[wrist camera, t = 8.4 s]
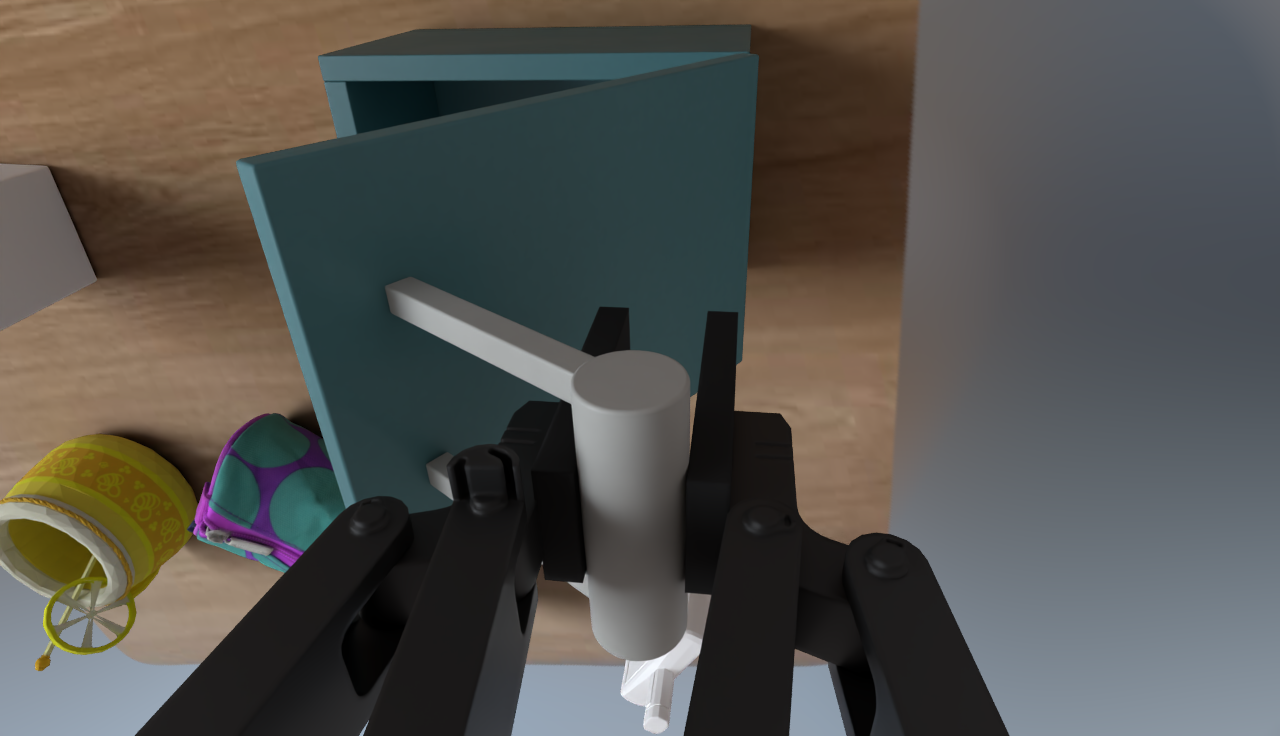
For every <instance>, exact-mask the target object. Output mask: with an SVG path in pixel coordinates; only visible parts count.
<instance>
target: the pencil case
mask: <svg viewBox="0 0 1280 736" xmlns="http://www.w3.org/2000/svg"><path fill="white" fill-rule="evenodd" d="M345 509H346V508H345V504H344V501H343V498H342V495H341V492H340V489H339V486H338V482H337V479H336V476H335V473H334V470H333V467H332V464H331V460H330V457H329V454H328V451H327V448H326V445H325V442H324V439H322V438H320V437H319V436H317V435H315V434H314V433H312V432H310V431H309V430H307V429H305V428H303V427H301V426H299V425H296V424H294V423H292V422H290V421H289V420H288V419H287V418H285V417H284V416H282V415H281V414H277V413H273V414H263V415H260V416H257V417H255V418H254V419H252V420H250V421H249V422H247V423H246V424H245V425H243V426H242V427H241V428H240V429H238V430H237V431H236V432H235V433H234V434H233V435H232V436H231V438H230V439H229V441H228V442H227V444H226V445H225V447H224V448H223V450H222V452H221V454H220V457H219V459H218V462H217V464H216V467H215V471H214V474H213V477H212V481H211V484H210V482H205V486H204V489H203V492H202V495H201V499H200V501H199V504H198V507H197V510H196V515H195V519H194V520H193V521H192V523H191V524H190V526H189V527H188V528H187V530H188V531H189V532H192V533H194V535H196V536H197V539H198V540H200V541H202V542H205V543H207V544H211V545H214V546H218V547H220V548H223V549H225V550H227V551H229V552H232V553H235V554H237V555H239V556H242V557H245V558H248V559H251V560H256V561H260V563H262V564H264V565H265V566H268V567H270V568H273V569H276V570H278V571H281V572H284V573H285V572H286V571H287V570H288V569H289V568H290V567H291V566H292V565H293V564H294V563H295V562H296V560H297V559H298V558H299V557H300V556H301V555H302V554H303V553H304V552H305V551H306V550H307V549H308V547H309V546H310V545H311V544H312V543H313V542H314V541H315V540H316V539H317V538H318V537H319V536H320V535H321V533H322V532H323V531H324V530H325V529H326V528H327V527H328V526H329V525H330V524H331V523H332V522H333V520H334V519H335V518H336V517H337V516H338V515H339V514H340V513H341V512H343V511H344V510H345Z"/></svg>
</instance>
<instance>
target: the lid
mask: <svg viewBox="0 0 1280 736" xmlns="http://www.w3.org/2000/svg"><path fill="white" fill-rule="evenodd" d="M758 64H759V56H758V55H757V54H747V53H738V54H734V55H729V56H724V57H719V58H715V59H710V60H705V61H701V62H696V63H691V64H686V65H682V66H677V67H672V68H667V69H663V70H658V71H653V72H649V73H644V74H639V75H634V76H630V77H625V78H620V79H615V80H611V81H606V82H601V83H597V84H592V85H587V86H582V87H578V88H573V89H568V90H564V91H559V92H554V93H549V94H545V95H540V96H535V97H530V98H526V99H521V100H516V101H512V102H507V103H502V104H497V105H493V106H488V107H483V108H478V109H474V110H469V111H464V112H460V113H455V114H450V115H445V116H441V117H436V118H431V119H427V120H422V121H417V122H412V123H408V124H403V125H398V126H393V127H389V128H384V129H379V130H375V131H370V132H365V133H360V134H356V135H351V136H346V137H342V138H337V139H332V140H327V141H323V142H318V143H313V144H308V145H304V146H299V147H294V148H290V149H285V150H280V151H275V152H271V153H266V154H261V155H256V156H252V157H247V158H242V159H239V160H238V161H236V165H237V169H238V172H239V175H240V178H241V181H242V184H243V187H244V191H245V194H246V197H247V200H248V203H249V206H250V209H251V213H252V216H253V219H254V222H255V225H256V228H257V231H258V235H259V238H260V241H261V244H262V247H263V250H264V253H265V256H266V260H267V263H268V266H269V269H270V272H271V275H272V278H273V282H274V285H275V288H276V291H277V294H278V297H279V300H280V304H281V307H282V310H283V313H284V316H285V319H286V322H287V326H288V329H289V332H290V335H291V338H292V341H293V344H294V347H295V351H296V354H297V357H298V360H299V363H300V366H301V369H302V373H303V376H304V379H305V382H306V385H307V388H308V391H309V395H310V398H311V401H312V404H313V407H314V410H315V413H316V417H317V420H318V423H319V426H320V429H321V432H322V435H323V438H324V442H325V445H326V448H327V451H328V454H329V457H330V460H331V464H332V467H333V470H334V473H335V476H336V479H337V482H338V486H339V489H340V492H341V495H342V498H343V501H344V504H345V508H348V507H349V506H350V505H352V504H354V503H356V502H359V501H361V500H363V499H367V498H371V497H376V496H390V497H394V498H396V499H399V500H402V501H403V503H404V504H405V505H406V506H407V507H408V510H409V514H412V513H418V512H424V511H431V510H437V509H441V508H445V507H448V506H451V505H452V503H453V496H452V491H451V487H450V482H449V477H448V472H447V467H446V466H447V464H448V463H449V461H450V460H451V459H452V457H454V456H455V455H457V454H458V453H460V452H461V451H462V450H465V449H467V448H470V447H473V446H476V445H483V444H497V445H498V444H499V442H501V438H502V436H503V434H504V432H505V430H507V426H508V424H509V422H510V420H511V418H512V416H513V414H514V413H515V412H516V411H517V410H518V409H520V408H521V407H522V406H523V405H524V404H526V403H527V402H528V401H546V402H560V400H561V399H562V400H564V401H566V402H568V403H570V404H571V405H572V415H573V426H574V437H575V448H576V459H577V470H578V481H579V492H580V502H581V513H582V524H583V535H584V546H585V557H586V568H587V570H586V573H585V577H584V581H583V583H574V582H567V583H569V584H570V585H572V586H573V587H574V588H576V589H577V590H579V591H580V592H581V593H583V594H584V595H586V596H587V597H588V598H589V600H590V611H591V622H592V629H593V633H594V635H595V638H596V639H597V641H598V642H599V643H600V645H601V646H602V647H603V648H604V649H605V650H606V651H608V652H609V653H611V654H612V655H614V656H616V657H618V658H621V659H624V660H629V661H648V660H653V659H656V658H659V657H661V656H663V655H665V654H667V653H668V652H670V651H671V650H673V649H674V648H675V647H676V646H677V645H678V643H679V642H680V641H681V639H682V638H683V636H684V634H685V631H686V628H687V619H688V593H685V542H686V481H687V473H688V465H689V452H690V397H691V396H693V395H694V394H696V393H697V392H698V385H699V377H700V369H701V361H702V353H703V345H704V337H705V329H706V321H707V313H708V311H723V312H738V333H737V356H736V365H737V364H738V363H740V362H741V361H742V353H743V335H744V317H745V298H746V280H747V262H748V244H749V226H750V208H751V190H752V172H753V154H754V136H755V118H756V100H757V82H758ZM599 307H624V308H629V323H630V350H625V351H617V352H611V353H607V354H603V355H600V356H597V357H593V356H591V355H589V354H586V353H584V352H582V351H581V350H582V347H583V345H584V342H585V340H586V338H587V335H588V333H589V330H590V328H591V326H592V323H593V321H594V319H595V316H596V314H597V311H598V309H599ZM542 565H543V562H542Z"/></svg>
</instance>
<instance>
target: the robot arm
mask: <svg viewBox="0 0 1280 736" xmlns="http://www.w3.org/2000/svg"><path fill="white" fill-rule="evenodd" d="M737 333H738V312H723V311H708V313H707V321H706V329H705V337H704V345H703V353H702V361H701V369H700V377H699V385H698V393H697V401H696V409H695V417H694V425H693V433H692V441H691V449H690V457H689V465H688V473H687V481H686V542H685V593H695V594H706V595H711V599H710V604H709V609H708V614H707V619H706V625H705V630H704V635H703V640H702V645H701V650H700V655H699V660H698V665H697V670H696V675H695V681H694V686H693V691H692V696H691V701H690V706H689V711H688V716H687V721H686V726H685V731H684V736H789V728H790V713H791V698H792V682H793V667H794V652H795V649H797V650H800V651H802V652H805V653H807V654H810V655H812V656H815V657H817V658H820V659H822V660H825V661H827V662H828V667H829V670H830V674H831V678H832V682H833V685H834V689H835V693H836V697H837V701H838V705H839V709H840V712H841V716H842V720H843V723H844V728H845V731H846V735H847V736H1009V734H1008V732H1007V729H1006V727H1005V725H1004V723H1003V721H1002V719H1001V717H1000V714H999V712H998V710H997V708H996V706H995V704H994V702H993V699H992V697H991V695H990V693H989V691H988V689H987V687H986V684H985V682H984V680H983V678H982V676H981V674H980V672H979V669H978V667H977V665H976V663H975V661H974V659H973V657H972V654H971V652H970V650H969V648H968V646H967V644H966V642H965V639H964V637H963V635H962V633H961V631H960V629H959V627H958V625H957V622H956V620H955V618H954V616H953V614H952V612H951V609H950V607H949V605H948V603H947V601H946V599H945V597H944V595H943V592H942V590H941V588H940V586H939V584H938V582H937V580H936V577H935V575H934V573H933V571H932V569H931V567H930V565H929V563H928V560H927V559H926V558H925V556H924V555H923V554H922V552H921V551H920V550H919V549H918V548H917V547H915V546H914V545H912V544H911V543H910V542H908V541H907V540H904V539H902V538H899V537H897V536H894V535H891V534H883V533H871V534H865V535H861V536H859V537H858V538H856V539H854V540H853V541H851V543H850V544H849V545H846V544H843V543H840V542H837V541H834V540H831V539H829V538H826V537H824V536H822V535H820V534H818V533H817V532H815V531H813V530H812V529H811V528H810V527H809V526H808V525H806V524H805V523H804V521H803V520H802V518H801V517H800V515H799V512H798V509H797V501H796V487H795V474H794V461H793V448H792V434H791V428H790V426H789V425H788V423H787V422H786V421H785V419H784V418H783V417H782V415H781V414H778V413H761V412H744V411H734V403H735V380H736V356H737ZM625 350H630V323H629V308H624V307H599V309H598V311H597V314H596V316H595V319H594V321H593V323H592V326H591V328H590V330H589V333H588V335H587V338H586V340H585V342H584V345H583V347H582V350H581V351H582V352H584V353H586V354H589V355H591V356H593V357H597V356H600V355H603V354H607V353H611V352H617V351H625ZM446 467H447V472H448V477H449V482H450V487H451V491H452V496H453V503H452V505H451V506H448V507H445V508H441V509H437V510H431V511H424V512H418V513H412V514H409V510H408V507H407V506H406V505H405V504H404V503H403V501H402V500H399V499H396V498H394V497H390V496H376V497H371V498H367V499H363V500H361V501H359V502H356V503H354V504H352V505H350V506H349V507H348V508H346V509H345V510H344V511H343V512H341V513H340V514H339V515H338V516H337V517H336V518H335V519H334V520H333V522H332V523H331V524H330V525H329V526H328V527H327V528H326V529H325V530H324V531H323V532H322V533H321V535H320V536H319V537H318V538H317V539H316V540H315V541H314V542H313V543H312V544H311V545H310V546H309V547H308V549H307V550H306V551H305V552H304V553H303V554H302V555H301V556H300V557H299V558H298V559H297V560H296V562H295V563H294V564H293V565H292V566H291V567H290V568H289V569H288V570H287V571H286V572H285V573H284V575H283V576H282V577H281V578H280V579H279V580H278V581H277V582H276V583H275V584H274V585H273V586H272V588H271V589H270V590H269V591H268V592H267V593H266V594H265V595H264V596H263V597H262V598H261V599H260V601H259V602H258V603H257V604H256V605H255V606H254V607H253V608H252V609H251V610H250V611H249V612H248V614H247V615H246V616H245V617H244V618H243V619H242V620H241V621H240V622H239V623H238V624H237V625H236V626H235V628H234V629H233V630H232V631H231V632H230V633H229V634H228V635H227V636H226V637H225V638H224V639H223V641H222V642H221V643H220V644H219V645H218V646H217V647H216V648H215V649H214V650H213V651H212V652H211V654H210V655H209V656H208V657H207V658H206V659H205V660H204V661H203V662H202V663H201V664H200V665H199V667H198V668H197V669H196V670H195V671H194V672H193V673H192V674H191V675H190V676H189V677H188V678H187V680H186V681H185V682H184V683H183V684H182V685H181V686H180V687H179V688H178V689H177V690H176V691H175V692H174V694H173V695H172V696H171V697H170V698H169V699H168V700H167V701H166V702H165V703H164V705H162V707H161V708H160V709H159V710H158V711H157V712H156V713H155V714H154V715H153V716H152V717H151V718H150V720H149V721H148V722H147V723H146V724H145V725H144V726H143V727H142V728H141V729H140V730H139V731H138V733H137V734H136V735H135V736H359V735H360V733H361V731H362V730H363V728H364V727H365V725H366V724H367V722H368V721H369V722H368V725H367V727H366V730H365V732H364V735H363V736H511V733H512V728H513V723H514V718H515V713H516V708H517V703H518V698H519V693H520V688H521V683H522V678H523V673H524V668H525V663H526V658H527V653H528V648H529V643H530V638H531V633H532V628H533V623H534V617H535V612H536V607H537V602H538V590H537V583H536V579H537V576H538V573H539V570H540V567H541V564H542V562H543V569H544V577H545V580H553V581H563V582H574V583H583V581H584V577H585V573H586V570H587V568H586V557H585V546H584V535H583V524H582V513H581V502H580V492H579V481H578V470H577V459H576V448H575V437H574V426H573V415H572V405H571V404H570V403H568V402H566V401H564V400H562V399H561V400H560V402H546V401H528V402H527V403H526V404H524V405H523V406H522V407H521V408H520V409H518V410H517V411H516V412H515V413H514V414H513V416H512V418H511V420H510V422H509V424H508V426H507V430H505V432H504V434H503V436H502V438H501V442H499V444H498V445H497V444H483V445H476V446H473V447H470V448H467V449H465V450H462V451H461V452H460V453H458V454H457V455H455V456H454V457H452V459H451V460H450V461H449V463H448V464H447V466H446Z"/></svg>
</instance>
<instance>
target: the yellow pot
mask: <svg viewBox="0 0 1280 736" xmlns="http://www.w3.org/2000/svg"><path fill="white" fill-rule="evenodd" d="M197 507H198V504H197V501H196V498H195V495H194V492H193V489H192V488H191V486H190V485H189V484H188V482H187V481H186V480H185V478H184V477H183V476H182V474H181V473H180V472H179V470H178V469H177V468H176V467H174V466H173V465H172V464H170V463H169V462H168V461H166V460H165V459H164V458H162V457H161V456H160V455H159V454H157V453H156V452H155V451H153V450H152V449H150V448H147V447H145V446H143V445H141V444H138V443H136V442H133V441H131V440H128V439H125V438H122V437H118V436H112V435H105V434H95V435H86V436H82V437H79V438H76V439H73V440H69V441H66V442H64V443H63V444H61V445H60V446H58V447H57V448H55V449H54V450H52V451H51V452H50V453H49V454H48V455H46V456H45V457H44V458H43V459H42V460H41V461H40V462H39V463H38V464H36V465H35V466H34V467H33V468H32V469H31V470H30V471H29V472H28V473H27V474H26V475H25V476H24V477H23V478H22V479H21V480H20V481H19V482H18V483H17V484H16V485H15V486H14V487H13V488H12V490H11V491H10V492H9V493H8V494H7V495H6V497H5V498H4V499H2V500H1V501H0V565H1V566H2V567H3V568H4V569H5V570H6V571H8V572H9V573H10V574H11V575H12V576H13V577H14V578H15V579H17V580H18V581H20V582H21V583H23V584H24V585H26V586H28V587H29V588H31V589H32V590H34V591H36V592H37V593H39V594H40V595H42V596H45V597H47V598H50V599H51V600H50V601H49V603H48V605H47V606H46V608H45V610H44V620H43V627H44V629H45V631H46V633H47V635H48V636H49V638H50V642H49V644H48V646H47V648H46V650H45V652H44V654H43V655H42V656H41V658H39V659H38V660H37V661H36V663H35V667H36V668H35V669H36V670H38V671H43V670H44V669H45V668H46V667H48V666H49V665H50V661H51V660H50V659H49V658H50V654H51V652H52V650H53V648H54V646H57V647H59V648H60V649H62V650H64V651H67V652H70V653H73V654H81V655H87V654H93V653H99V652H103V651H105V650H107V649H109V648H111V647H113V646H115V645H116V644H117V643H119V642H120V641H121V640H122V639H123V638H124V637H125V636H126V635H127V634H128V633H129V631H130V629H131V627H132V626H133V624H134V621H135V617H136V608H135V602H134V598H135V597H136V596H137V595H139V594H140V593H141V592H142V591H143V590H145V589H146V588H147V586H148V585H149V584H150V583H151V581H152V580H153V579H154V578H155V576H156V575H157V574H158V572H159V569H160V567H161V565H163V564H164V563H165V562H166V561H168V560H169V559H170V558H171V557H172V556H174V555H175V554H176V553H177V552H178V551H179V550H180V549H181V548H182V547H183V546H184V545H185V544H186V543H187V542H188V540H189V539H190V538H191V536H192V534H193V533H192V532H189V531H188V530H187V528H188V527H189V526H190V524H191V523H192V521H193V520H194V519H195V515H196V510H197ZM56 601H59V602H60V603H63V604H65V605H67V608H66V610H65V612H64V614H63V616H62V618H61V620H60V622H59V624H58V625H57V626H53V625H52V622H51V612H52V608H53V605H54V603H55V602H56ZM107 605H108V606H107ZM122 605H127V606H128V608H129V618H128V622H127V625H126V627H122V626H120V625H117V624H115V623H113V622H111V621H109V620H106V619H104V618H102V617H100V616H98V615H96V614H97V613H100V612H103V611H106V610H109V609H112V608H115V607H118V606H122ZM100 606H106V607H104V608H102V609H101V610H99V611H97V612H96V611H95V610H94V608H95V607H100ZM78 607H80V608H82V609H84V610H86V611H88V612H90V613H88V614H87V613H85V612H84V611H83V610H81V609H80V608H78ZM85 607H90V611H89V610H88V609H86V608H85ZM92 607H93V610H92ZM73 608H74V609H76V610H78V611H80V612H83V613H85V614H87V616H84V617H81V618H78V619H74V620H71V621H68V622H67V620H68V617H69V615H70V613H71V611H72V609H73ZM95 615H96V616H97V617H99V618H100V619H101V620H103V621H104V622H103V621H101V620H98V619H96V618H94V617H93V616H95ZM85 618H88V619H89V621H88V625H87V629H86V632H85V635H84V639H83V643H82V646H81V648H79V647H75V646H72V645H69V644H67V643H66V642H64V641H63V640H61V639H60V638H59V636H60V634H61V632H62V630H64V629H66V628H68V627H70V626H72V625H73V624H75V623H77V622H79V621H81V620H83V619H85ZM91 618H92V619H91ZM93 618H94V619H95V620H96V621H98V622H99V623H101V624H102V625H104V626H105V627H106V628H108V629H109V630H111V631H112V632H113V633H115V634H116V635H117V638H116V639H115V640H114V641H112V642H111V643H109V644H107V645H105V646H101V647H97V648H93V647H92V626H93ZM90 619H91V622H90ZM105 622H106V623H105Z"/></svg>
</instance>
